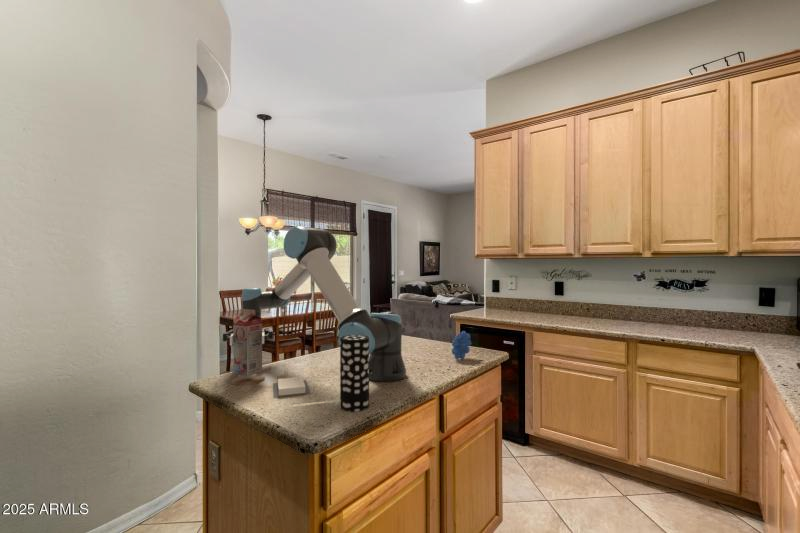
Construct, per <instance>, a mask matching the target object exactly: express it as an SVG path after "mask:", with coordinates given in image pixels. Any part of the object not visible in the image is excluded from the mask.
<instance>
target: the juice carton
mask: <svg viewBox="0 0 800 533" xmlns="http://www.w3.org/2000/svg"><path fill="white" fill-rule="evenodd" d="M232 323H233V327H232V329H233V345H232V346H233V347H232V350H233V351H232V355H233V356H232V358H233V359H232V361H233V367H232V368H233V369H232V370H233V372H232V374H234V375H240V376H249V375H256V374H257V373H260V372H262V371H263V344H262V330H263V318H262V316H261V317H259V316H257V315H255V310H248V309H242V308H240V313H239V314H238V315H237V316H236V317H235V318H233V322H232Z"/></svg>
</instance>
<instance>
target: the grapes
mask: <svg viewBox="0 0 800 533" xmlns="http://www.w3.org/2000/svg"><path fill="white" fill-rule="evenodd" d="M451 345H452V347H453V348H452V349H451V353H452V355H453V356H454V359H456V360H458V359H461V358H463V359H464V358H465V357H466V355H467V354H468V353H469V352H470V347H471V345H472V341H471V335H470V333H467V332H466V331H465V330H462V331H461V332H460V333H457V334H456V335H455V338H454V339H453V341H452V343H451Z"/></svg>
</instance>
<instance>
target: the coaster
mask: <svg viewBox="0 0 800 533" xmlns="http://www.w3.org/2000/svg"><path fill="white" fill-rule="evenodd" d="M265 380H266V377H265V376H264V375H259V374H252V375H249V376H245V375H241V376H239V377H234V378H233V379H231V380H230V381H231V382H230V383H231V384H232V385H234V386H250V385H251V386H252V385H256V384H260V383H262V382H264V381H265Z"/></svg>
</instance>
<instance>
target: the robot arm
mask: <svg viewBox="0 0 800 533" xmlns="http://www.w3.org/2000/svg"><path fill="white" fill-rule="evenodd" d="M337 247H338V244H337V240H336V237H335V235H334V233H332V232H331V231H329V230H327V229H324V228H315V227H307V226H301V225H300V226H293V227H292V228H290V229H289V230H288V231H287V232H286V234H285V237H284V238H283V250H284V254H286V256H287V257H288V258H289V259H290V258H291V259H293V260H296V261H297V264H295V265H294V267H293V268H292V269H291V270H289V272H288V273H287V274H286V275H285V276H284V277H283V279H281V281H280V282H279V283H278V284H277V285H276V286H275V287H274V288H273V289H272V290H269V291H262V289H261V288H260V287H245V288H243V289H242V292H241V309H248V310H255V315H257V316H259V317H261V318H262V310H267V309H268V310H269V309H275V308H276V309H280V308H283V307H284V308H285V307H286V306H288V305H289V304H290V302H291V297H292V295H293V294H294V293H295V292H297V291H298V289H299V288H300V287H301V286H302V285H303V284H304V283H305V282H306V281H307V280H308V279H309V278H310V277H311V278H312V280H313V281H314V283H315V284H316V286H317V288H318V289H319V291H320V292H321V294H322V296H323V298H324V299H325V301H326V303H327V305H328V306H329V308H330V309H331V311H332V313H333V314H334V316H335V317H336V319H337V321H338V324H337V326H336V328H337V330H338V332H337V337H338V339H337V342H338V344H339V346H340V337H342V336H347V335H365V336H368V337H369V381H370V380H371V381H373V382H384V383H385V382H397V381H400V380H403V379H405V378H406V377H407V368H406V366H405V362H404V358H403V355H402V339H403V338H402V330H403V329H402V328H403V327H402V326H403V324H402V317H401V316H400V315H399V314H393V313H382V312H381V313H380V312H371V313H369V312H368V311H367V309H366V308H361V307H360V306H359V304H358V303H357V301H356V299H355V298H354V296H353V295H352V294H351V292H350V290H349V288H348V287H347V285H346V284H345V281H343V279H342V277H341V276H340V274H339V272H338V271H337V270H336V268H335V266H334V264H332V262H331V259H332V258H333V257H334V255H335V253H336V251H337ZM269 339H271V340H272V339H274V331H273V330H271V329H269V327H265V328H263V329H262V345H264V344H265V341H268V340H269ZM222 341H223V342H227V344H229V346H233V328H231V329H230V330H229V331H227V332H224V333H223V334H222Z"/></svg>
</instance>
